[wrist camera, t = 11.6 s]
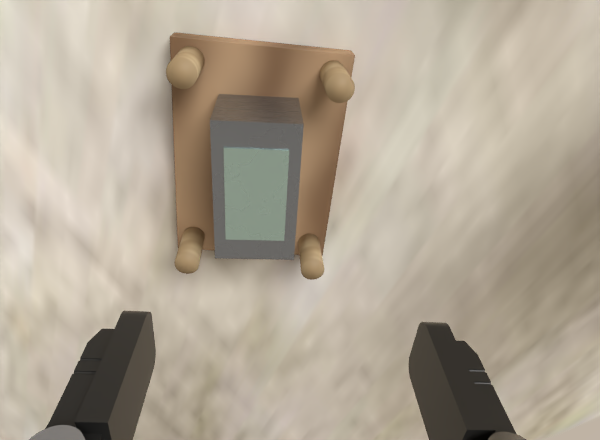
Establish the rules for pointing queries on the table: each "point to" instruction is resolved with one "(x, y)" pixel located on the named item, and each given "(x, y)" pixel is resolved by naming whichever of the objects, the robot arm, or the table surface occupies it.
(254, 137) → the grey rectangular block
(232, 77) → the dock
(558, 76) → the table surface
